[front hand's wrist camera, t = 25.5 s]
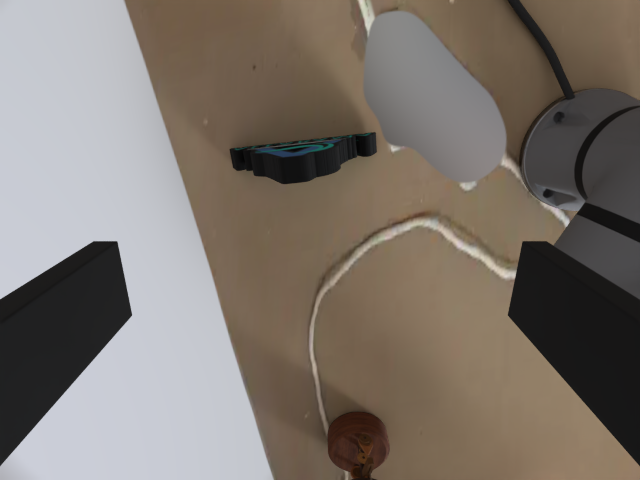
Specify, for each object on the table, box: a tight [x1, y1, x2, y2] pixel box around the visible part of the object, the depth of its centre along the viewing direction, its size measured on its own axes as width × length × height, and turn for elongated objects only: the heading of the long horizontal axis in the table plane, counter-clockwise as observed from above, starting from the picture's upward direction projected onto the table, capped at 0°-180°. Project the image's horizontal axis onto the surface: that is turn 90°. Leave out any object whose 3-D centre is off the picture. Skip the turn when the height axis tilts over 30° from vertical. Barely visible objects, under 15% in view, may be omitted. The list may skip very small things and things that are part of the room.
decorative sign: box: [230, 132, 377, 184], centre depth 42 cm, size 19×2×15 cm, turn 96°
